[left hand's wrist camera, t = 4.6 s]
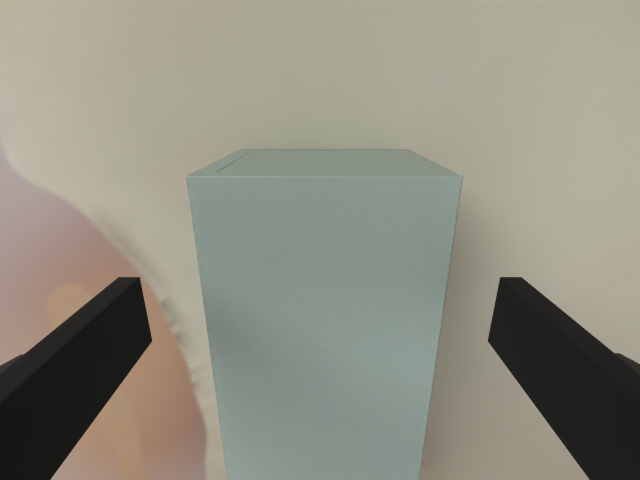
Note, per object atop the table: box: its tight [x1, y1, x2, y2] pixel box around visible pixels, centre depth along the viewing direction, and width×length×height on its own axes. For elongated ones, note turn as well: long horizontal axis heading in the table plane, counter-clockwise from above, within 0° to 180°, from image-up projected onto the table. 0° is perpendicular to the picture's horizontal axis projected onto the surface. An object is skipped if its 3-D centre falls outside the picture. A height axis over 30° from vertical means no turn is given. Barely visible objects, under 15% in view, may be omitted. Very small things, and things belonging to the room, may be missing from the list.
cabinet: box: [187, 150, 463, 480], centre depth 21 cm, size 21×11×9 cm, turn 0°
